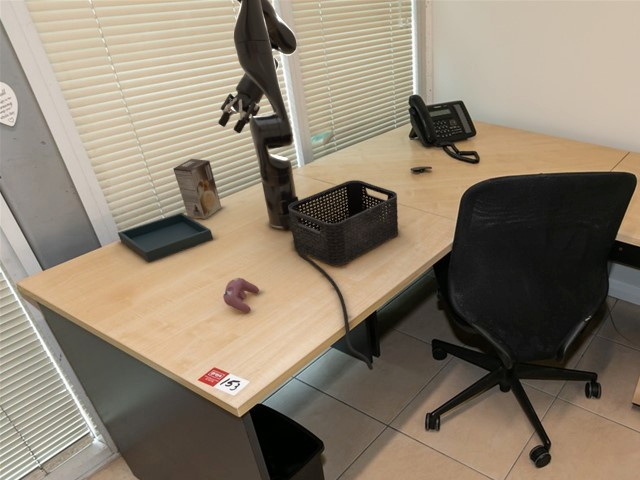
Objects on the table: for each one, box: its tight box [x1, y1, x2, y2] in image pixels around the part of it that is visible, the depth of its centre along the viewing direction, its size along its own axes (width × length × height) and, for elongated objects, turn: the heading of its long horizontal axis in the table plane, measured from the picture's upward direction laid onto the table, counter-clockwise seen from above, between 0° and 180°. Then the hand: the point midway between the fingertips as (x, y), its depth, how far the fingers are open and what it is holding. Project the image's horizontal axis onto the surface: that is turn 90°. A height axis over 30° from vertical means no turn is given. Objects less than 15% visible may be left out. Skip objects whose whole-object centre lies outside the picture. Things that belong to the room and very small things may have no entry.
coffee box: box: [172, 158, 222, 220], centre depth 162 cm, size 9×6×16 cm
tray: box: [117, 212, 214, 263], centre depth 150 cm, size 17×19×3 cm
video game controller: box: [222, 277, 260, 314], centre depth 127 cm, size 10×5×7 cm, turn 5°
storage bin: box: [288, 179, 399, 267], centre depth 153 cm, size 29×19×13 cm
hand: (228, 128), depth 162 cm, fingers open, 8 cm apart
